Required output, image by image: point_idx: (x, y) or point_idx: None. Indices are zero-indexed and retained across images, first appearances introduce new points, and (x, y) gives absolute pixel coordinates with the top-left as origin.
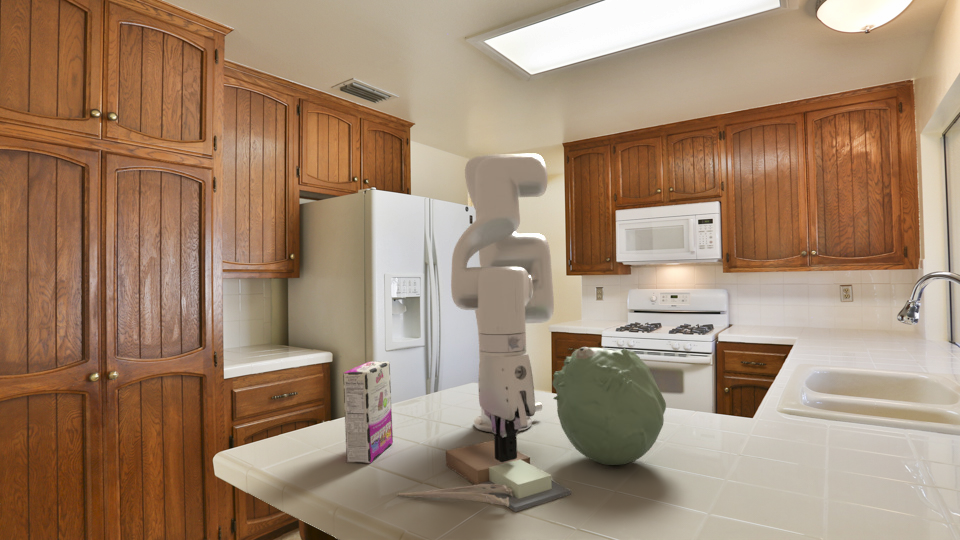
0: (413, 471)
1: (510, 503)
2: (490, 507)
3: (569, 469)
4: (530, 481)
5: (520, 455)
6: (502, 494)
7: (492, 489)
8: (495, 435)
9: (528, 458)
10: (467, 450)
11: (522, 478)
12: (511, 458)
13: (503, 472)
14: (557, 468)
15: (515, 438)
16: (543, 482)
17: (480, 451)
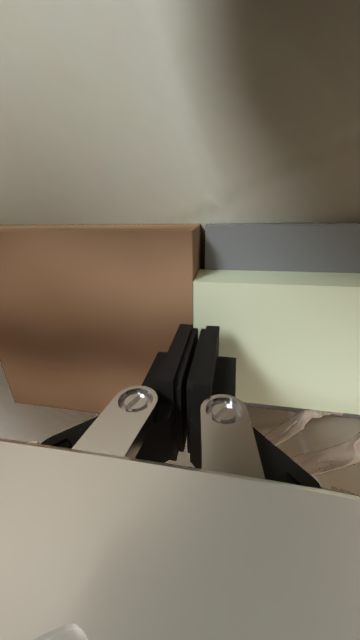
0: (49, 436)
1: (356, 415)
2: (312, 432)
3: (272, 40)
4: None
5: (153, 251)
6: None
7: (287, 429)
8: (172, 458)
9: (193, 239)
10: (31, 361)
11: (342, 380)
12: (218, 348)
13: (256, 390)
14: (228, 91)
15: (212, 373)
16: None
17: (54, 338)
